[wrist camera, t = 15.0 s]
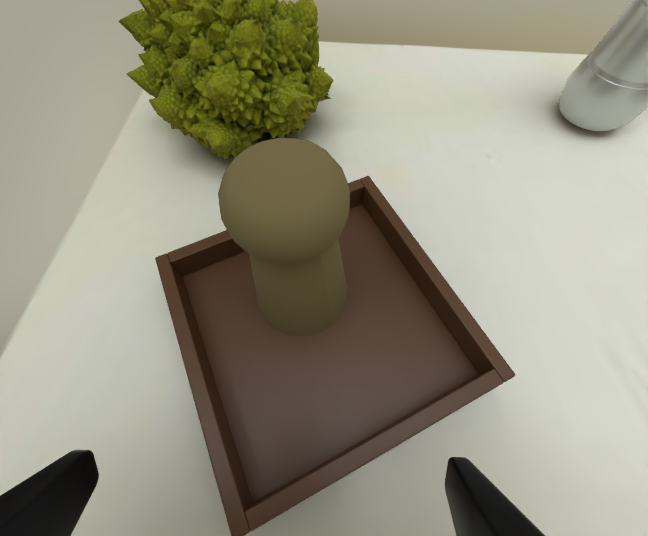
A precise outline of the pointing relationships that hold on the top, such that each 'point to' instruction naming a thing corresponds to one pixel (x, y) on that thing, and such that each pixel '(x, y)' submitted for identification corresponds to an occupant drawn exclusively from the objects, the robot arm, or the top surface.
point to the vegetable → (230, 68)
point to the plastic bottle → (611, 76)
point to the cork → (290, 230)
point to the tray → (321, 362)
